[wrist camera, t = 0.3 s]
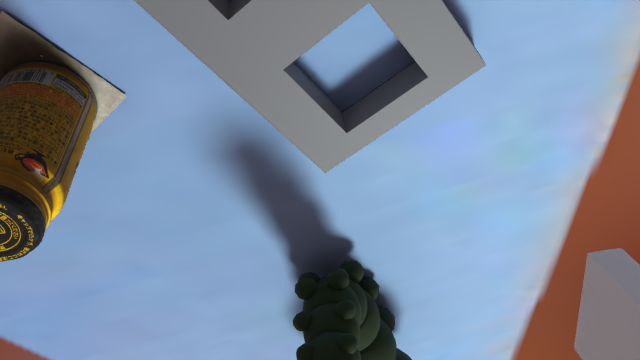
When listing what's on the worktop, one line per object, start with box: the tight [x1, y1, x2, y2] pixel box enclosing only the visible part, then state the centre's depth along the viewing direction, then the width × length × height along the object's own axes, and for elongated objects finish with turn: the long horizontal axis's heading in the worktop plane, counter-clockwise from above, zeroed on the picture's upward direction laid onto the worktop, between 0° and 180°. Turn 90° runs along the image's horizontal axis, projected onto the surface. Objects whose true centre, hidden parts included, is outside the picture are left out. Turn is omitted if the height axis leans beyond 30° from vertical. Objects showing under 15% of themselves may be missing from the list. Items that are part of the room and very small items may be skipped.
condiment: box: [0, 11, 127, 261], centre depth 32 cm, size 7×8×12 cm
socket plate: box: [134, 0, 486, 173], centre depth 34 cm, size 13×19×2 cm
